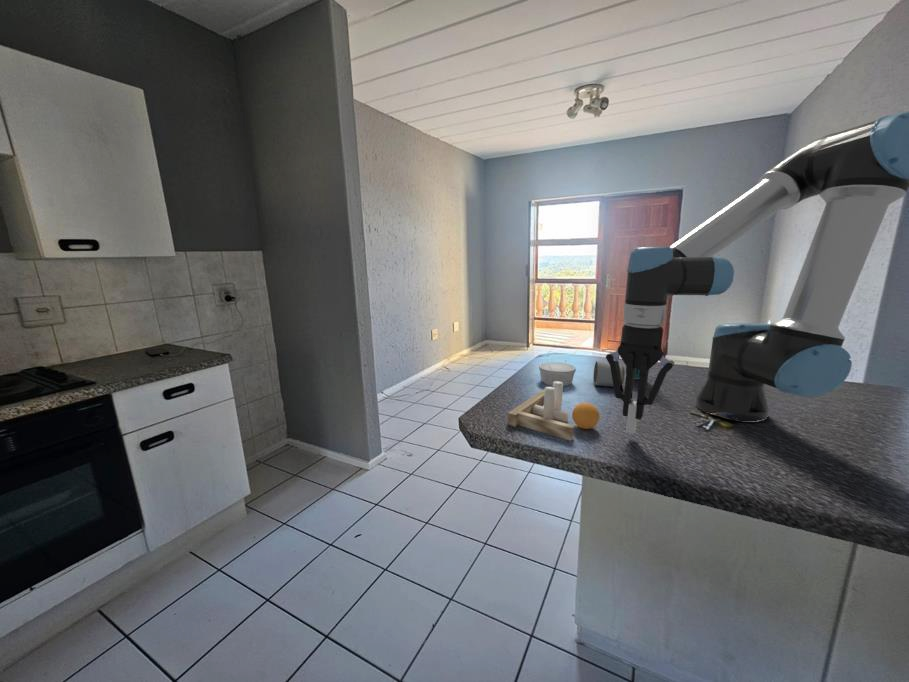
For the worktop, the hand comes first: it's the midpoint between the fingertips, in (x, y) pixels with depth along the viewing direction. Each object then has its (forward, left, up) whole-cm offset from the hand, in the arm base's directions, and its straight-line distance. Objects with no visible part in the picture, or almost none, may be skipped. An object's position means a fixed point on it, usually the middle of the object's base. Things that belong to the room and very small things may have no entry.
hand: (630, 430), depth 80 cm
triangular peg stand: (+17, 0, -2) cm, 18 cm away
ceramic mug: (+15, -34, -2) cm, 38 cm away
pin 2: (+18, -2, -2) cm, 18 cm away
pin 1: (+18, +2, -2) cm, 18 cm away
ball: (+10, 0, +1) cm, 10 cm away
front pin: (+14, 0, -1) cm, 14 cm away
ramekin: (+28, -27, -2) cm, 39 cm away
